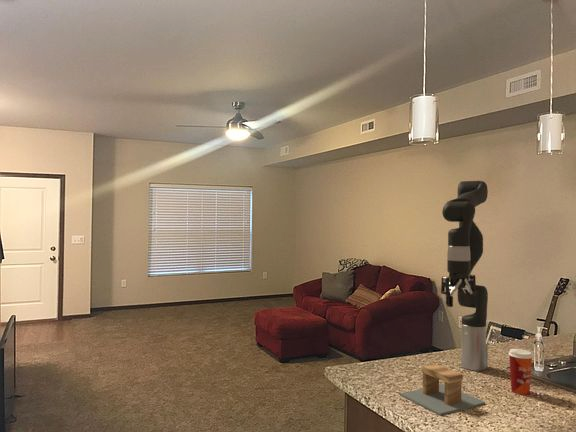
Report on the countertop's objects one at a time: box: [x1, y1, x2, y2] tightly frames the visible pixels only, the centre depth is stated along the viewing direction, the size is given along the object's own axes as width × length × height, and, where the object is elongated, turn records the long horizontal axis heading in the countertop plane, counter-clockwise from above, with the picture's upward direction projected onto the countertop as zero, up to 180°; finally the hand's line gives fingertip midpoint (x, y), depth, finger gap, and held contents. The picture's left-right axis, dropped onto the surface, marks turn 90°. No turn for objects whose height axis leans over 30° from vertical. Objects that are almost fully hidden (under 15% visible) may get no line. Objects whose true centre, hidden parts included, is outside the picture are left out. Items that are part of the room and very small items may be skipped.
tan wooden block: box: [421, 363, 464, 405], centre depth 152 cm, size 12×6×9 cm, turn 27°
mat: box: [399, 383, 486, 416], centre depth 152 cm, size 20×18×1 cm
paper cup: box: [508, 348, 534, 396], centre depth 160 cm, size 8×8×14 cm
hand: (458, 305), depth 160 cm, fingers open, 8 cm apart
